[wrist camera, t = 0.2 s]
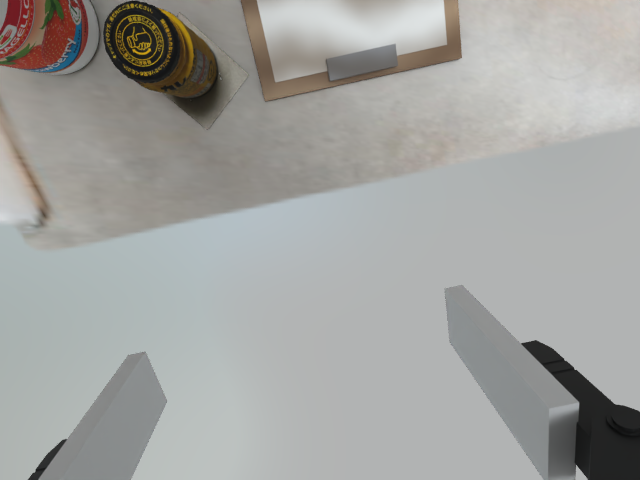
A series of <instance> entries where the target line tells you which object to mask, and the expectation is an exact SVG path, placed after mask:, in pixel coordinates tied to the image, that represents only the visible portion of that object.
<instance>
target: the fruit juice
mask: <svg viewBox="0 0 640 480" xmlns="http://www.w3.org/2000/svg"><path fill="white" fill-rule="evenodd" d="M98 40H99V26H98V21H97V17H96V14H95V11H94V8H93V6H92V4H91V2H90V1H89V0H0V65H2V66H7V67H13V68H18V69H23V70H29V71H34V72H39V73H45V74H52V75H61V74H69V73H72V72H75V71H77V70H79V69H81V68H83V67H84V66H85V65H86V64H87V63H88V62H89V61H90V60H91V59H92V57H93V56H94V54H95V51H96V49H97V46H98Z"/></svg>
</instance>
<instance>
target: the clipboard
mask: <svg viewBox="0 0 640 480" xmlns="http://www.w3.org/2000/svg"><path fill="white" fill-rule="evenodd" d="M241 3H242V7H243V11H244V16H245V20H246V24H247V28H248V32H249V36H250V41H251V45H252V49H253V53H254V57H255V61H256V66H257V70H258V74H259V78H260V82H261V86H262V91H263V95H264V99H265V101H270V100H275V99H279V98H284V97H288V96H293V95H297V94H302V93H306V92H311V91H316V90H320V89H325V88H329V87H334V86H338V85H343V84H347V83H352V82H357V81H361V80H366V79H370V78H375V77H379V76H384V75H388V74H393V73H398V72H402V71H407V70H411V69H416V68H420V67H425V66H429V65H434V64H438V63H443V62H448V61H452V60H457V59H460V58H462V54H461V39H460V24H459V9H458V0H241Z"/></svg>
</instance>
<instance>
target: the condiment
mask: <svg viewBox="0 0 640 480" xmlns="http://www.w3.org/2000/svg"><path fill="white" fill-rule="evenodd" d="M103 34H104V43H105V49H106V52H107V53H108V55H109V57H110V59H111V60H112V62H113V64H114V65H115V66H116V68H118V69H119V70H120V71H121V73H123V74H124V75H126V76H127V77H128V78H130V79H133V80H134V81H136V82H137V83H139V84H140V85H141V86H143V87H145V88H147V89H149V90H153V91H157V92H162V93H163V94H164V95H166V96H167V97H168V98H169V99H170V100H172V101H173V102H174V103H175V104H176V105H178V106H179V107H180V108H181V109H182V110H184V111H185V112H186V113H187V114H188V115H190V116H191V117H192V118H193V119H195V120H196V121H197V122H198V123H199V124H200V125H202V126H203V127H204V128H205V129H206V130H208V129H209V127H210V126H211V125H212V124H213V122H214V121H215V120H216V118H217V117H218V116H219V114H220V113H221V112H222V111H223V109H224V108H225V107H226V105H227V104H228V102H229V101H230V100H231V98H232V97H233V96H234V94H235V93H236V92H237V90H238V89H239V88H240V86H241V85H242V84H243V82H244V81H245V80H246V78H247V77H248V76H249V74H247V73H246V72H245V71H244V70H243V69H242V68H241V67H240V66H239V65H238V64H236V63H235V62H234V61H233V60H232V59H231V58H230V57H229V56H228V55H226V54H225V53H224V52H223V51H222V50H221V49H220V48H219V47H218V46H216V45H215V44H214V43H213V42H212V41H211V40H210V39H209V38H208V37H206V36H205V35H204V34H203V33H202V32H201V31H200V30H199V29H198V28H197V27H195V26H194V25H193V24H192V23H191V22H190V21H189V20H188V19H187V18H185V17H184V16H183V15H182V14H181V13H180V12H179V14H178V16H177V17H176V16H174V15H173V14H172V13H170V12H167V11H165V10H163V9H160V8H156V7H155V6H153V5H149V4H147V3H144V2H139V1H129V2H125V3H123V4H120V5H118V6H117V7H116V8H115V9H114V10H113V11H112V12H111V13H110V15H109V16H108V17H107V19H106V21H105V25H104V32H103ZM219 73H220V74H221V75H219ZM220 77H222V80H221V79H220ZM190 100H191V101H190Z"/></svg>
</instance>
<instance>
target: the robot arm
mask: <svg viewBox="0 0 640 480" xmlns="http://www.w3.org/2000/svg"><path fill="white" fill-rule="evenodd" d="M445 299H446V309H447V320H448V330H449V339H450V343H451V345H452V346H453V348H454V349H455V351H456V352H457V354H458V355H459V356H460V358H461V360H462V361H463V362H464V364H465V365H466V367H467V368H468V370H469V371H470V373H471V374H472V375H473V377H474V379H475V380H476V381H477V383H478V384H479V386H480V387H481V389H482V390H483V392H484V393H485V395H486V396H487V398H488V399H489V400H490V402H491V403H492V405H493V406H494V408H495V409H496V411H497V412H498V414H499V415H500V417H501V418H502V419H503V421H504V422H505V424H506V425H507V427H508V428H509V430H510V431H511V433H512V434H513V435H514V437H515V438H516V440H517V441H518V443H519V444H520V446H521V447H522V449H523V450H524V452H525V453H526V455H527V456H528V457H529V459H530V460H531V461H532V463H533V465H534V466H535V468H536V469H537V471H538V472H539V473H540V475H541V476H542V478H543V479H544V480H575V476H576V465H577V466H578V467H579V469H580V470H581V471H582V472H583V473H584V475H585V476H586V477H587V478H588V480H640V412H639V411H637V410H635V409H632V408H629V407H626V406H621V405H615V404H614V403H613V402H612V401H611V400H609V399H608V398H607V397H606V396H605V395H604V394H603V393H602V392H600V391H599V390H598V389H597V388H596V387H595V386H594V385H593V384H591V383H590V382H589V381H588V380H587V379H586V378H585V377H584V376H583V375H582V374H580V373H579V372H578V371H577V370H574V367H573V366H571V365H570V364H569V363H568V362H567V361H565V360H564V358H562V357H561V356H560V355H559V354H558V353H557V352H556V351H554V349H552V348H550V347H549V346H547V345H545V344H543V343H540V342H538V341H536V340H535V341H531V342H526V343H519V341H517V340H516V338H515V337H514V336H513V335H511V333H510V332H509V331H508V330H507V329H506V328H504V326H503V325H501V324H500V322H499V321H497V320H496V318H495V317H494V316H493V315H491V314H490V312H488V310H487V309H486V308H485V307H484V306H483V305H482V304H481V303H480V302H479V301H478V300H477V299H476V298H475V297H474V296H473V295H472V294H470V292H469V291H468V290H467V289H466V288H465V287H464V286H463V285H460V286H455V287H450V288H446V289H445ZM166 403H167V399H166V397H165V395H164V393H163V390H162V388H161V386H160V383H159V381H158V379H157V377H156V375H155V372H154V370H153V368H152V365H151V363H150V361H149V359H148V356H147V354H146V352H141V353H136V354H131V355H128V356H127V358H126V359H125V360H124V362H123V363H122V364H121V366H120V367H119V369H118V370H117V371H116V373H115V374H114V376H113V377H112V378H111V380H110V381H109V382H108V384H107V385H106V387H105V388H104V389H103V391H102V392H101V393H100V395H99V396H98V398H97V399H96V400H95V402H94V403H93V405H92V406H91V407H90V409H89V410H88V412H87V413H86V414H85V416H84V417H83V418H82V420H81V421H80V423H79V424H78V425H77V427H76V428H75V429H74V431H73V432H72V434H71V435H70V436H69V438H68V439H65V440H62V441H61V442H60V443H59V444H58V445H57V446H56V447H55V448H54V449H52V450H51V451H50V452H49V453H48V454H47V455H46V456H45V458H44V459H43V461H42V462H41V463H40V464H39V466H38V467H37V469H36V472H35V473H33V474H32V475H31V476H30V478H29V479H28V480H131V478H132V476H133V474H134V472H135V469H136V467H137V465H138V463H139V461H140V459H141V457H142V454H143V452H144V450H145V448H146V446H147V443H148V442H149V439H150V437H151V435H152V433H153V431H154V429H155V426H156V424H157V422H158V420H159V418H160V415H161V414H162V411H163V409H164V407H165V405H166Z"/></svg>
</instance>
